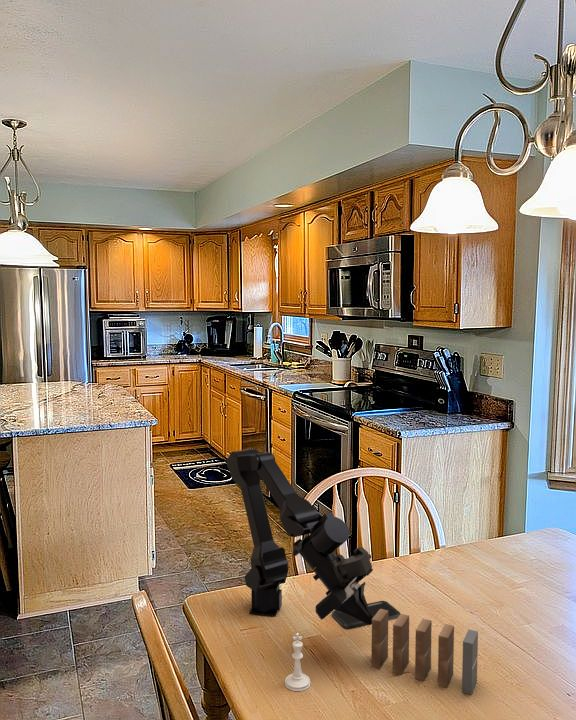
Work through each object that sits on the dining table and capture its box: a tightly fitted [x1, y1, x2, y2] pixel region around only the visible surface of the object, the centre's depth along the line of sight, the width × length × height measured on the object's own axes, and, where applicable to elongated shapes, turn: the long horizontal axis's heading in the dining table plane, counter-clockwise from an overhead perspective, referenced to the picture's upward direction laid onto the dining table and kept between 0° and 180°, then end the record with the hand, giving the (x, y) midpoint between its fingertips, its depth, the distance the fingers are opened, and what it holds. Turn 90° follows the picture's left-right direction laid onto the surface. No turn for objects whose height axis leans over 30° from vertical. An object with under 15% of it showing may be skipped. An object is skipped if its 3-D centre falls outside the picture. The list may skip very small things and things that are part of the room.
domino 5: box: [461, 629, 479, 696], centre depth 118 cm, size 2×5×10 cm, turn 152°
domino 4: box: [437, 623, 455, 689], centre depth 120 cm, size 2×5×10 cm, turn 152°
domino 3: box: [414, 618, 433, 682], centre depth 122 cm, size 2×5×10 cm, turn 152°
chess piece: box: [284, 632, 311, 692], centre depth 119 cm, size 5×5×10 cm
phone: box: [331, 600, 401, 630], centre depth 145 cm, size 8×1×15 cm
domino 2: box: [392, 613, 410, 676], centre depth 124 cm, size 2×5×10 cm, turn 152°
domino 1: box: [371, 609, 389, 670], centre depth 126 cm, size 2×5×10 cm, turn 152°
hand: (372, 623), depth 126 cm, fingers closed
